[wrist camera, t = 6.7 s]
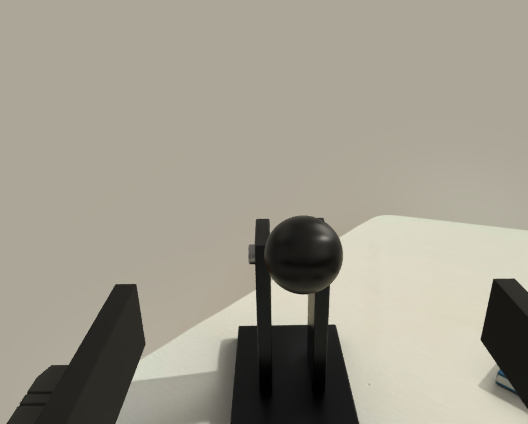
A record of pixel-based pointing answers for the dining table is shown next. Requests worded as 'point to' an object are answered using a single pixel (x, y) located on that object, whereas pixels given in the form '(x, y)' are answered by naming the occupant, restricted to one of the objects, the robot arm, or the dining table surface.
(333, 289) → the dining table surface
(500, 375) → the sketchbook
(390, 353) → the dining table surface
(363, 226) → the dining table surface
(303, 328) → the bracket
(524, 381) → the robot arm
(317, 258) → the control lever
